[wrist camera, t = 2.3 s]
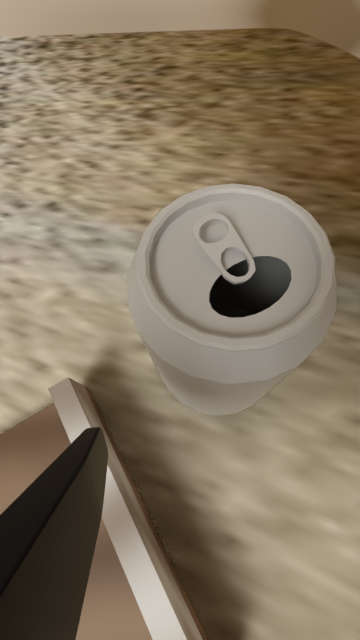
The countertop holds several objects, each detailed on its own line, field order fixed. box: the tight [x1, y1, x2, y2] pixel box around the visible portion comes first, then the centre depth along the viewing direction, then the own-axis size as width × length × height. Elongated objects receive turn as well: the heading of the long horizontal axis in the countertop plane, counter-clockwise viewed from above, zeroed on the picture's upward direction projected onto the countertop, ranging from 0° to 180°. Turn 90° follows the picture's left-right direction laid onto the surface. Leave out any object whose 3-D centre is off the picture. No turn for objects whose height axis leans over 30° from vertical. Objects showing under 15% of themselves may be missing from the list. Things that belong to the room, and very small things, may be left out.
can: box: [127, 184, 337, 416], centre depth 15 cm, size 8×8×12 cm
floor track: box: [0, 378, 208, 640], centre depth 15 cm, size 16×12×4 cm
